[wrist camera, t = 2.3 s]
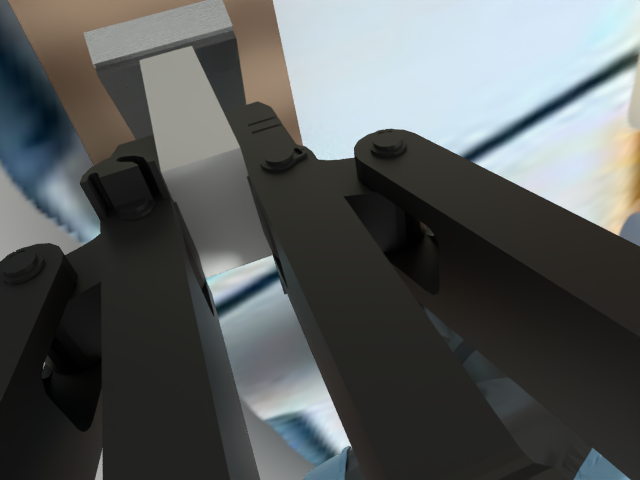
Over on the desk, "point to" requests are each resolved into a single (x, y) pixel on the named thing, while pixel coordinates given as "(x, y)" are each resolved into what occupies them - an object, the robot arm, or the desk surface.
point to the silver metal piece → (161, 37)
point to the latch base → (124, 5)
